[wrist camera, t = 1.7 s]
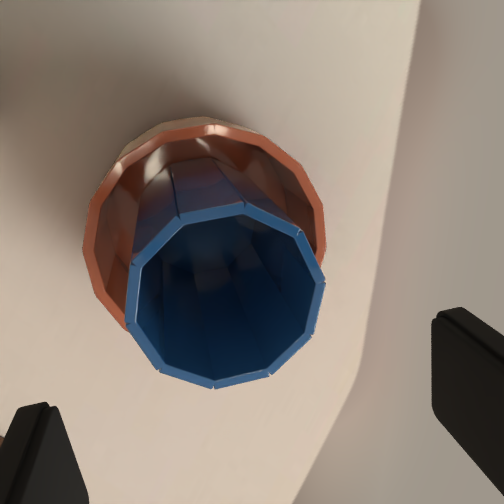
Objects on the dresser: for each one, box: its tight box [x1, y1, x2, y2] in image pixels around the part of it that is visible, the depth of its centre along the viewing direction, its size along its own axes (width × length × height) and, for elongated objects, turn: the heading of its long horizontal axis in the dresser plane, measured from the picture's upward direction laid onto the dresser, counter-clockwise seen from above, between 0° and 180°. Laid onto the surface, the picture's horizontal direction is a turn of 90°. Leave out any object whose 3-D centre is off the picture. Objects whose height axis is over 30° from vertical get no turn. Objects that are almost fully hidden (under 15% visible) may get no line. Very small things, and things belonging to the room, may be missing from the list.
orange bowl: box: [82, 116, 326, 333], centre depth 24 cm, size 11×11×6 cm
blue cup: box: [124, 157, 326, 389], centre depth 21 cm, size 7×7×11 cm
